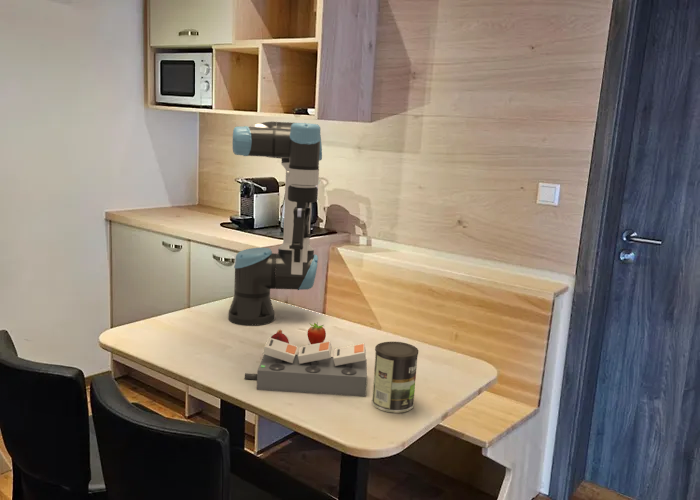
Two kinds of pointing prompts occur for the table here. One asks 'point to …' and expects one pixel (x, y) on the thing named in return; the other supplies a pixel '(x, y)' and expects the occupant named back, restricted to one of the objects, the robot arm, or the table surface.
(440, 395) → the table surface
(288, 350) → the panel
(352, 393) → the power strip
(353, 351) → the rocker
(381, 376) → the coffee can
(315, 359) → the rocker
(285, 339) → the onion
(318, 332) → the fruit
